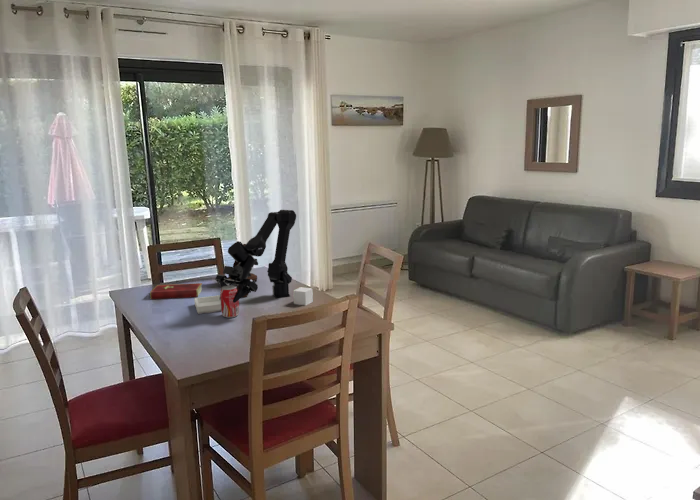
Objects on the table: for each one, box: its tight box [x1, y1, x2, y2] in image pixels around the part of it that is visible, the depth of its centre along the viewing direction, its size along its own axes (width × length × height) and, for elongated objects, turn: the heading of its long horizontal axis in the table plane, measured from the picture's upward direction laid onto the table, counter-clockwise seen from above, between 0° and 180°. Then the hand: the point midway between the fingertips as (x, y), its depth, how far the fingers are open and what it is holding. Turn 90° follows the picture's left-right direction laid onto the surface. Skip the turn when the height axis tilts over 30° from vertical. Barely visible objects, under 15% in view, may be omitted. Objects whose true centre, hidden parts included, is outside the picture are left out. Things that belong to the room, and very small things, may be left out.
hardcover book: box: [149, 282, 203, 300], centre depth 247 cm, size 12×21×4 cm, turn 95°
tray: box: [193, 294, 222, 315], centre depth 227 cm, size 16×14×3 cm
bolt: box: [236, 285, 250, 299], centre depth 247 cm, size 6×5×15 cm
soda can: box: [219, 284, 240, 319], centre depth 214 cm, size 7×7×12 cm
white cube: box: [292, 286, 314, 306], centre depth 230 cm, size 6×6×6 cm
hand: (227, 301), depth 213 cm, fingers closed on soda can, 7 cm apart
